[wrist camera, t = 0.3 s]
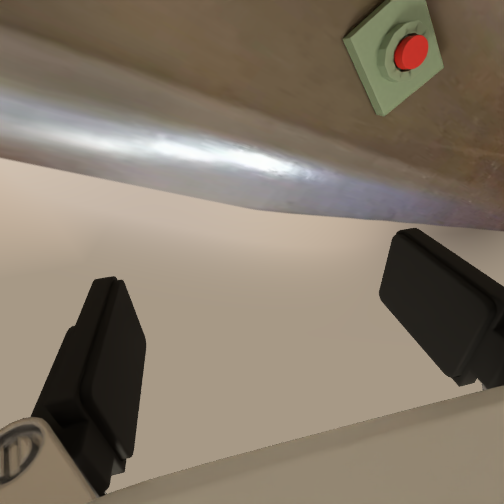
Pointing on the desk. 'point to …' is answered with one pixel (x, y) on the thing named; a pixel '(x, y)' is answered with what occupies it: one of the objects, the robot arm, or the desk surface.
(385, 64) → the block
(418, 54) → the button
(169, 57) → the desk surface
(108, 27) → the desk surface
